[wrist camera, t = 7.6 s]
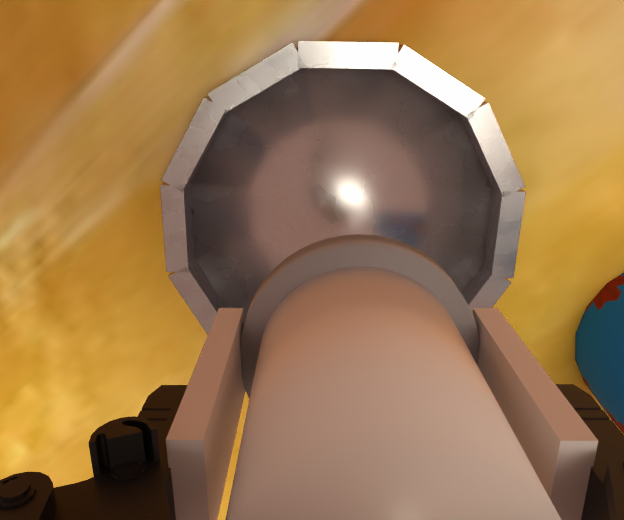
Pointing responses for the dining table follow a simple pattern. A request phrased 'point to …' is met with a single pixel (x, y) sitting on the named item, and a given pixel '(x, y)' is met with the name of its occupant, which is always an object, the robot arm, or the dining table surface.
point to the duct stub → (372, 396)
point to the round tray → (339, 173)
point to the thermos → (604, 349)
